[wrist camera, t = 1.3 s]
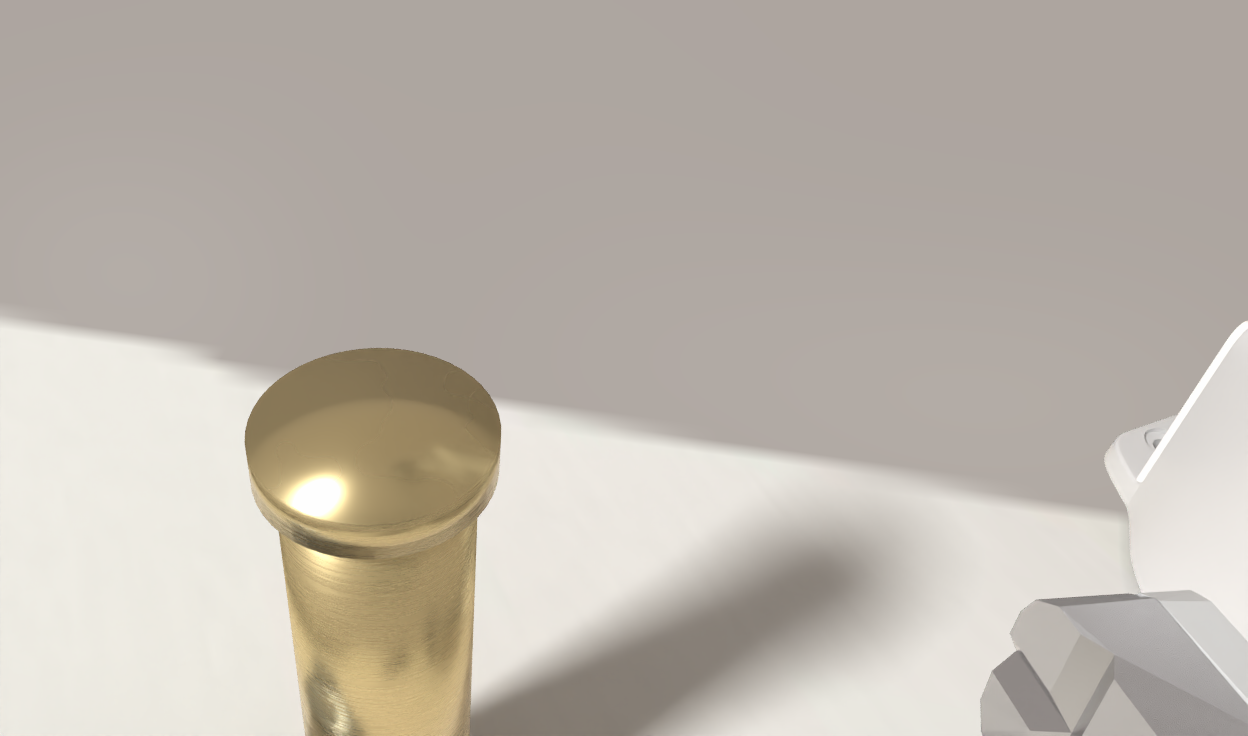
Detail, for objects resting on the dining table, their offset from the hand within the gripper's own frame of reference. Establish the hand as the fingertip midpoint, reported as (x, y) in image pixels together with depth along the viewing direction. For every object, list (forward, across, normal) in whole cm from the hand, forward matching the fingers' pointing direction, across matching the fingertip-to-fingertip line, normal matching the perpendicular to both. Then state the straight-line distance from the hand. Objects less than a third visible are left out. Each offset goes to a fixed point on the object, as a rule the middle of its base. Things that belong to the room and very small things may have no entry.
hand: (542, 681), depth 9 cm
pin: (+14, -1, +22) cm, 26 cm away
